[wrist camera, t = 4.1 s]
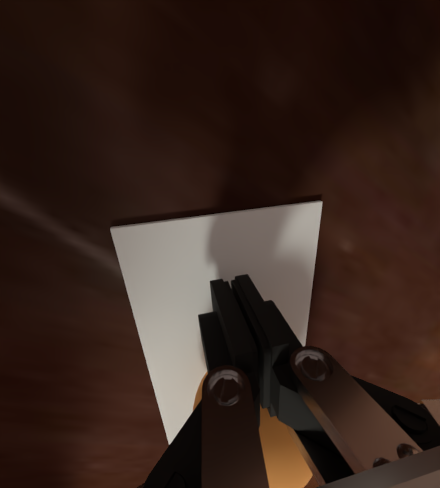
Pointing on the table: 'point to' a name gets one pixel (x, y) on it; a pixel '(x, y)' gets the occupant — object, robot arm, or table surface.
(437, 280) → the table surface
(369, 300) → the table surface
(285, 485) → the ball
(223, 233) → the lane mark
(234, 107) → the table surface
